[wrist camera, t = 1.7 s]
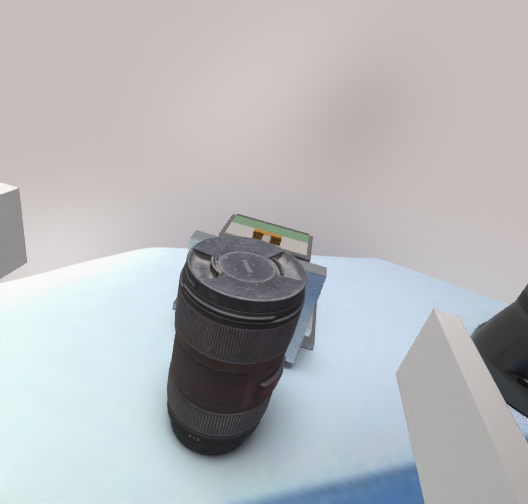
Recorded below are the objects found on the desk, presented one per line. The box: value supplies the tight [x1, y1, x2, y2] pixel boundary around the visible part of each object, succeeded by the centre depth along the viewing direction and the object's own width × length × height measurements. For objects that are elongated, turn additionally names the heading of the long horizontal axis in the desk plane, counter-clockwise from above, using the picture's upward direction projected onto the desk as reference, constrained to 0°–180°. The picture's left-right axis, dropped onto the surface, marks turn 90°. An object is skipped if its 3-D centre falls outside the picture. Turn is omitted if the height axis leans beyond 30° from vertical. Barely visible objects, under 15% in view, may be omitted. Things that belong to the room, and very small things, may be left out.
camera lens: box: [167, 236, 307, 456], centre depth 25 cm, size 8×8×15 cm
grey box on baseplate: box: [173, 214, 317, 350], centre depth 41 cm, size 16×10×9 cm, turn 79°
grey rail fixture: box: [189, 228, 327, 364], centre depth 38 cm, size 14×12×10 cm
